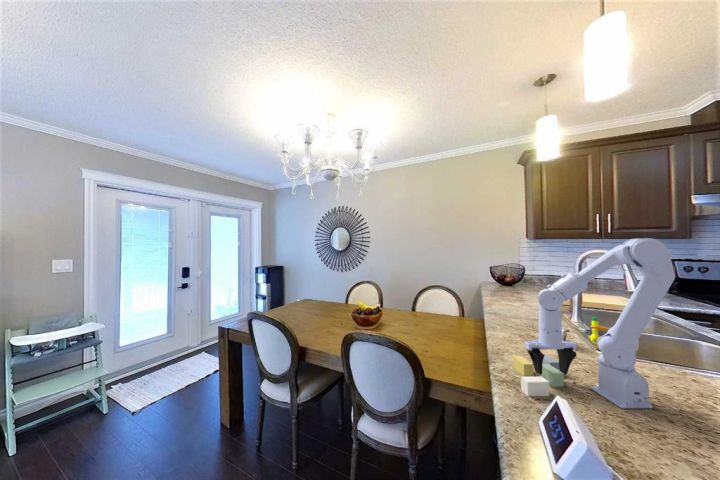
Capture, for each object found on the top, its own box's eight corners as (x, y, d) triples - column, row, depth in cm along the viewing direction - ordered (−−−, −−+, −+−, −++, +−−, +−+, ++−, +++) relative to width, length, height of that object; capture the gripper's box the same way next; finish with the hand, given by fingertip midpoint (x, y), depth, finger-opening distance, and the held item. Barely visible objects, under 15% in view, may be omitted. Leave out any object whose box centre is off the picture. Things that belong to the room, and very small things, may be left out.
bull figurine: (559, 349, 102) (559, 328, 102) (546, 337, 115) (545, 319, 115) (572, 350, 101) (572, 329, 101) (557, 338, 114) (557, 319, 114)
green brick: (564, 387, 76) (563, 373, 76) (553, 387, 76) (553, 373, 76) (549, 376, 82) (549, 364, 82) (539, 376, 82) (539, 364, 82)
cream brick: (542, 390, 75) (541, 376, 75) (549, 396, 72) (549, 381, 72) (521, 390, 75) (520, 376, 75) (527, 396, 72) (527, 382, 72)
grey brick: (559, 374, 83) (559, 362, 83) (550, 374, 83) (549, 362, 83) (546, 366, 89) (546, 354, 89) (537, 366, 89) (537, 354, 89)
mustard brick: (533, 376, 82) (533, 364, 82) (524, 376, 82) (523, 364, 82) (521, 367, 88) (521, 355, 88) (513, 367, 88) (512, 356, 88)
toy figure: (610, 349, 102) (609, 318, 102) (609, 351, 99) (608, 320, 99) (587, 344, 106) (586, 315, 107) (586, 347, 104) (585, 317, 104)
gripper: (563, 324, 83) (564, 366, 83) (518, 324, 83) (519, 366, 83) (582, 331, 76) (583, 377, 76) (533, 332, 76) (533, 378, 76)
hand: (550, 372), depth 79 cm, fingers open, 7 cm apart
